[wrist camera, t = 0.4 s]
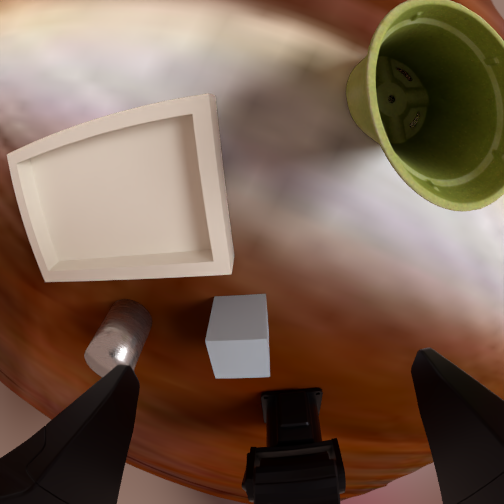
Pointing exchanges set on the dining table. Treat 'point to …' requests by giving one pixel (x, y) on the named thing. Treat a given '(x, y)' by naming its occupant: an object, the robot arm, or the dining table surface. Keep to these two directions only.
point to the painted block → (239, 337)
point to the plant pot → (436, 101)
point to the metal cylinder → (119, 337)
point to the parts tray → (128, 195)
